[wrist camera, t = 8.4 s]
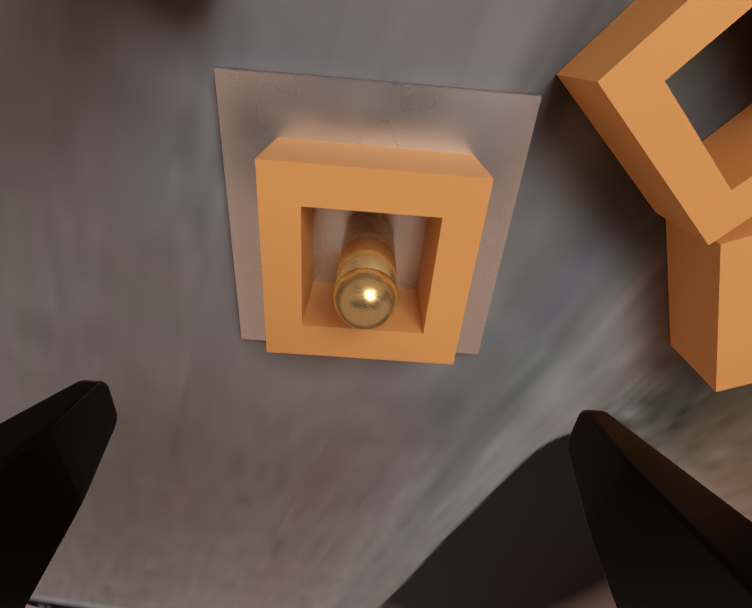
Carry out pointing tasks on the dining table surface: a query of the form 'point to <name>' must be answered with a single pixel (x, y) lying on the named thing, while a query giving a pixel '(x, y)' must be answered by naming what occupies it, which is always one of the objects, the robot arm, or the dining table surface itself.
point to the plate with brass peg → (358, 228)
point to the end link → (369, 194)
